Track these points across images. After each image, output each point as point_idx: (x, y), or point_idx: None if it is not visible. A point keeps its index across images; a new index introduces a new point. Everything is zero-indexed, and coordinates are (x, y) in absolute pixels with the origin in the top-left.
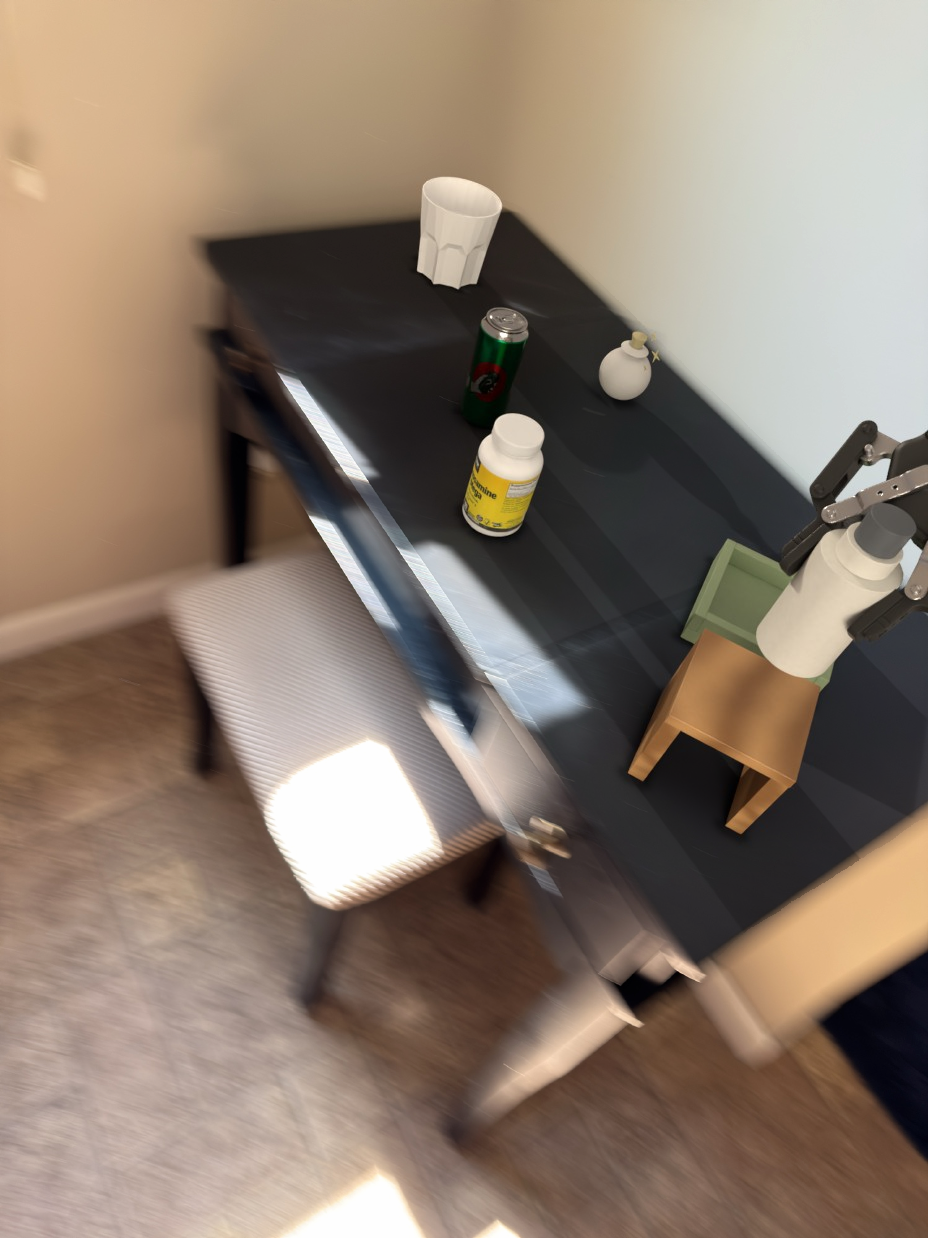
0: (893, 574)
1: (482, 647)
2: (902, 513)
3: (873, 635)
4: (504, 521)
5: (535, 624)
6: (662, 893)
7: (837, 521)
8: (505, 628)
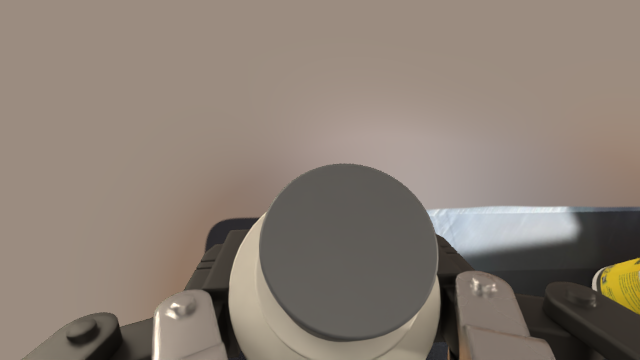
0: (264, 331)
1: (465, 214)
2: (365, 308)
3: (211, 249)
4: (608, 284)
5: (483, 266)
6: (250, 225)
7: (456, 287)
8: (481, 240)
